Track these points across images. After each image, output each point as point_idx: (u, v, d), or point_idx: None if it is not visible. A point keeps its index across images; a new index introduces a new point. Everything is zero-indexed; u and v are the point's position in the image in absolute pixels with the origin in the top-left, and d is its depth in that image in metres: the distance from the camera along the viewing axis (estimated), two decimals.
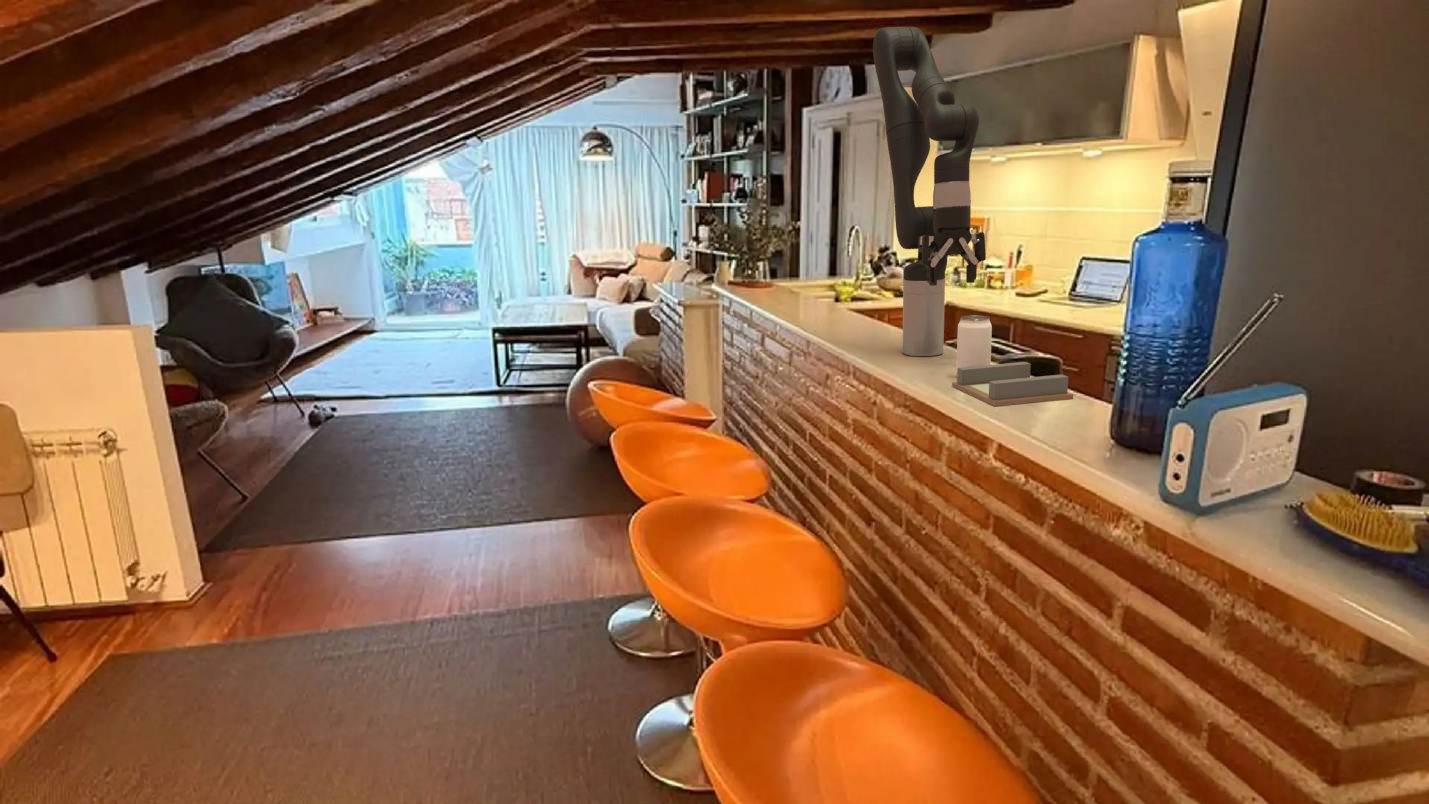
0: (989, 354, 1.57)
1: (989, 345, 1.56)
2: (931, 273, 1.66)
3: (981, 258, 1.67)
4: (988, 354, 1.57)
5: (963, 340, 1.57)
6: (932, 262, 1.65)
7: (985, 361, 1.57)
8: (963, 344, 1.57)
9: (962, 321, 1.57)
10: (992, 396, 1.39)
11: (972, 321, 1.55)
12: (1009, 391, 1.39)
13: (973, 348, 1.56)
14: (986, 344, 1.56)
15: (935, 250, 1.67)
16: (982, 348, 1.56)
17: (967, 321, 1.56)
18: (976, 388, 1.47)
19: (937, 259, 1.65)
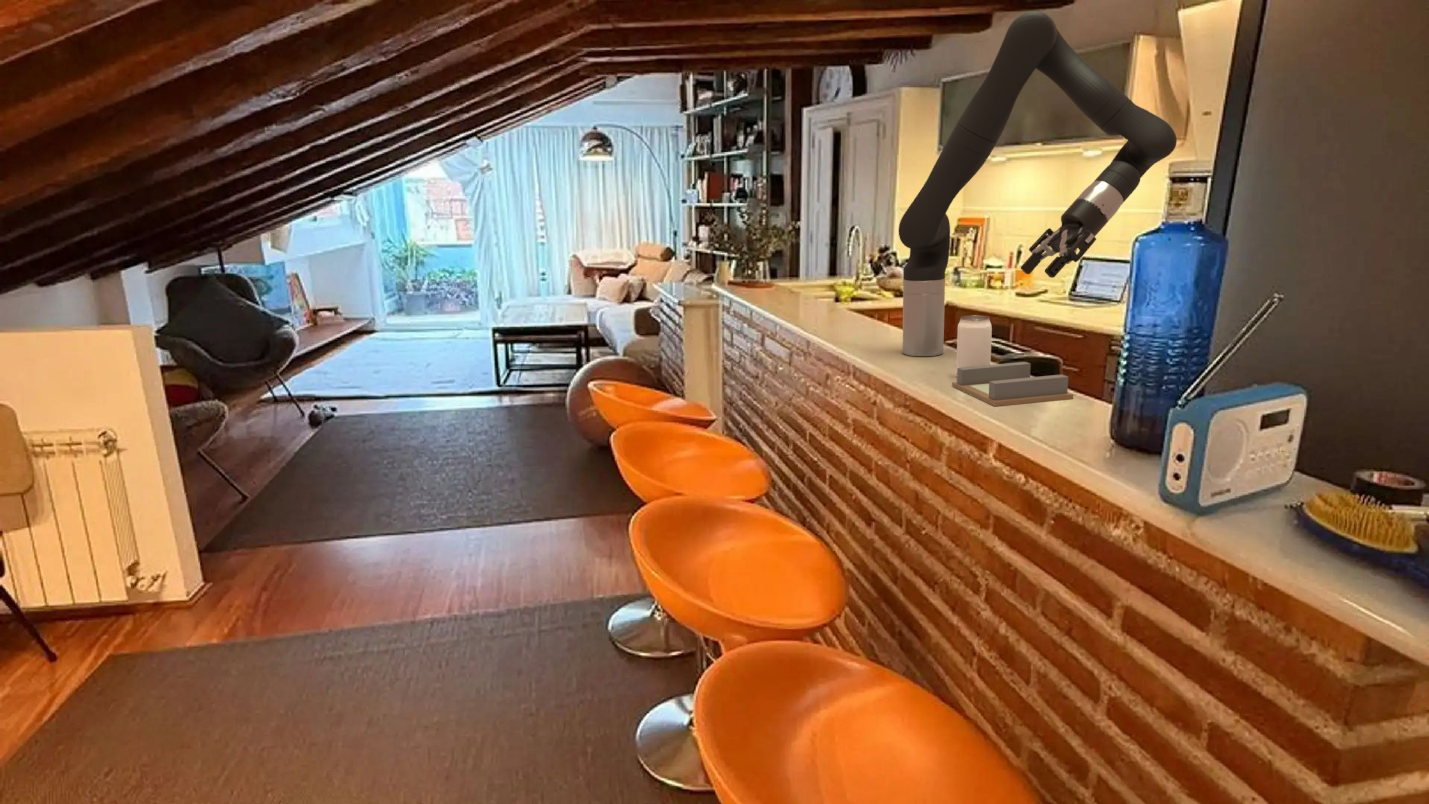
0: (989, 354, 1.57)
1: (989, 345, 1.56)
2: None
3: None
4: (988, 354, 1.57)
5: (963, 340, 1.57)
6: None
7: (985, 361, 1.57)
8: (963, 344, 1.57)
9: (962, 321, 1.57)
10: (992, 396, 1.39)
11: (972, 321, 1.55)
12: (1009, 391, 1.39)
13: (973, 348, 1.56)
14: (986, 344, 1.56)
15: None
16: (982, 348, 1.56)
17: (967, 321, 1.56)
18: (976, 388, 1.47)
19: None
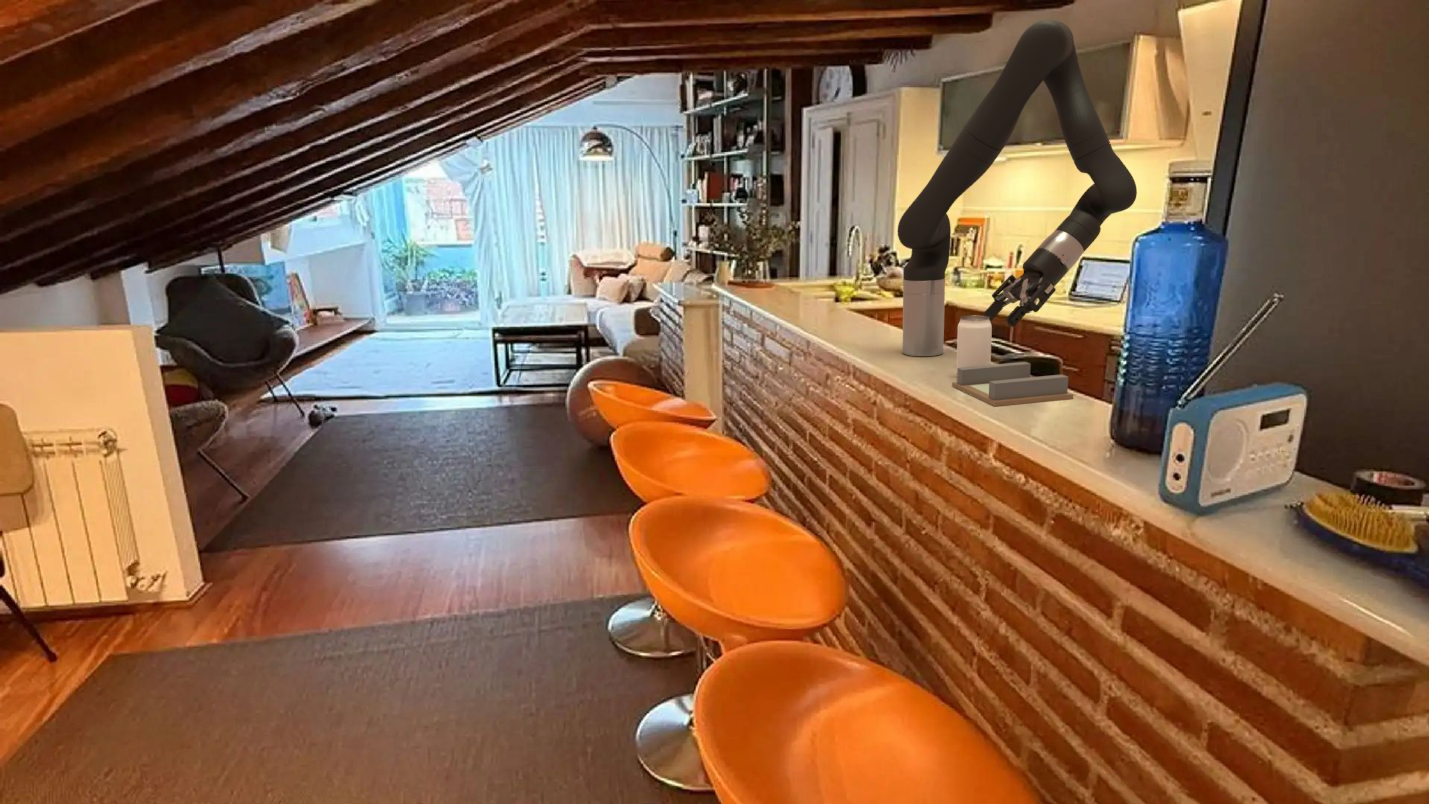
0: (989, 354, 1.57)
1: (989, 345, 1.56)
2: None
3: None
4: (988, 354, 1.57)
5: (963, 340, 1.57)
6: None
7: (985, 361, 1.57)
8: (963, 344, 1.57)
9: (962, 321, 1.57)
10: (992, 396, 1.39)
11: (972, 321, 1.55)
12: (1009, 391, 1.39)
13: (973, 347, 1.56)
14: (986, 344, 1.56)
15: None
16: (982, 348, 1.56)
17: (967, 321, 1.56)
18: (976, 388, 1.47)
19: None
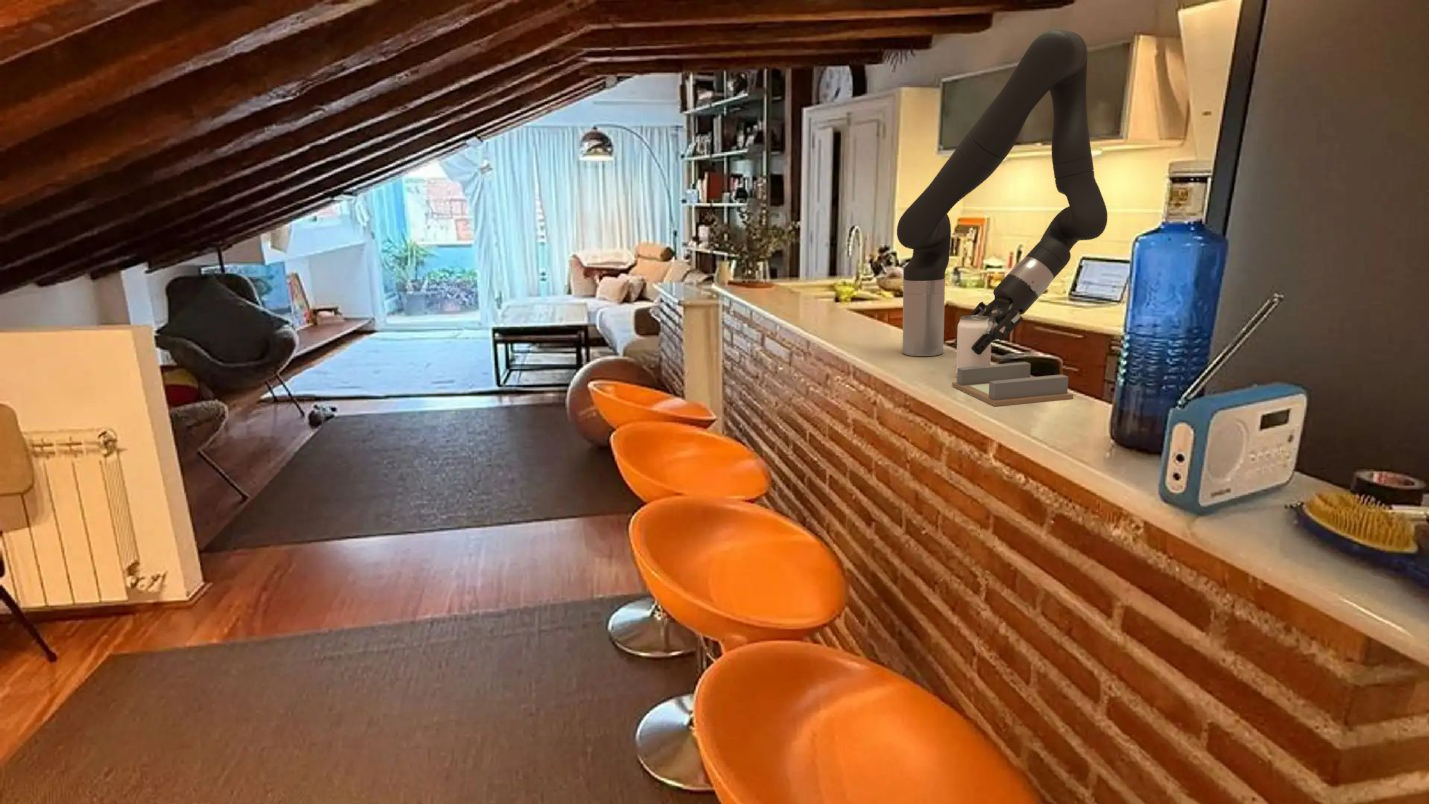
0: (989, 354, 1.57)
1: (989, 345, 1.56)
2: None
3: None
4: (988, 354, 1.57)
5: (963, 340, 1.57)
6: None
7: (985, 361, 1.57)
8: (963, 344, 1.57)
9: (962, 321, 1.57)
10: (992, 396, 1.39)
11: (972, 321, 1.55)
12: (1009, 391, 1.39)
13: None
14: None
15: None
16: None
17: (967, 321, 1.56)
18: (976, 388, 1.47)
19: None
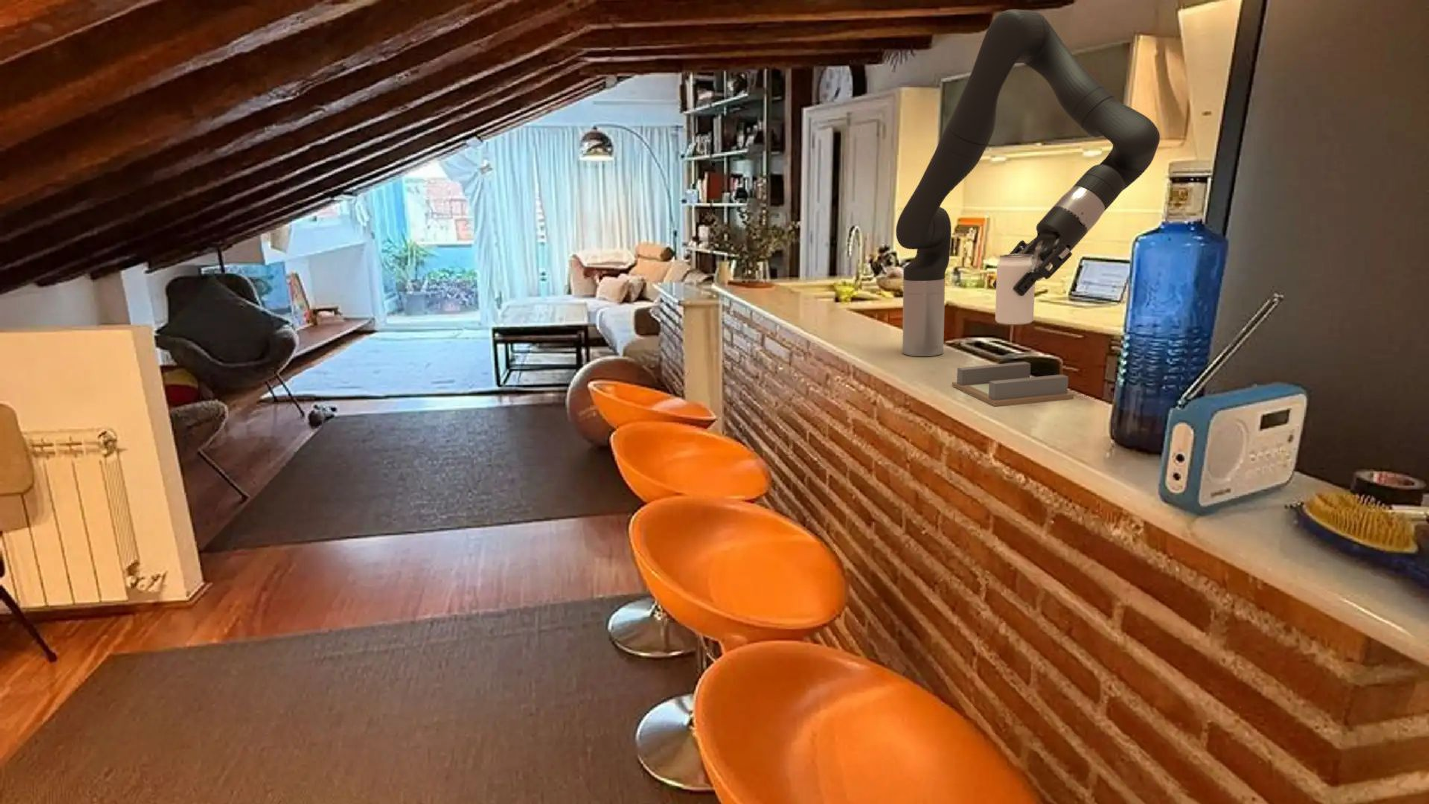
0: (1033, 296, 1.40)
1: (1033, 285, 1.40)
2: None
3: None
4: (1032, 296, 1.40)
5: (1004, 280, 1.40)
6: None
7: (1029, 303, 1.40)
8: (1004, 285, 1.40)
9: (1002, 259, 1.40)
10: (992, 396, 1.39)
11: (1014, 258, 1.39)
12: (1009, 391, 1.39)
13: None
14: None
15: None
16: None
17: (1008, 258, 1.39)
18: (976, 388, 1.47)
19: None
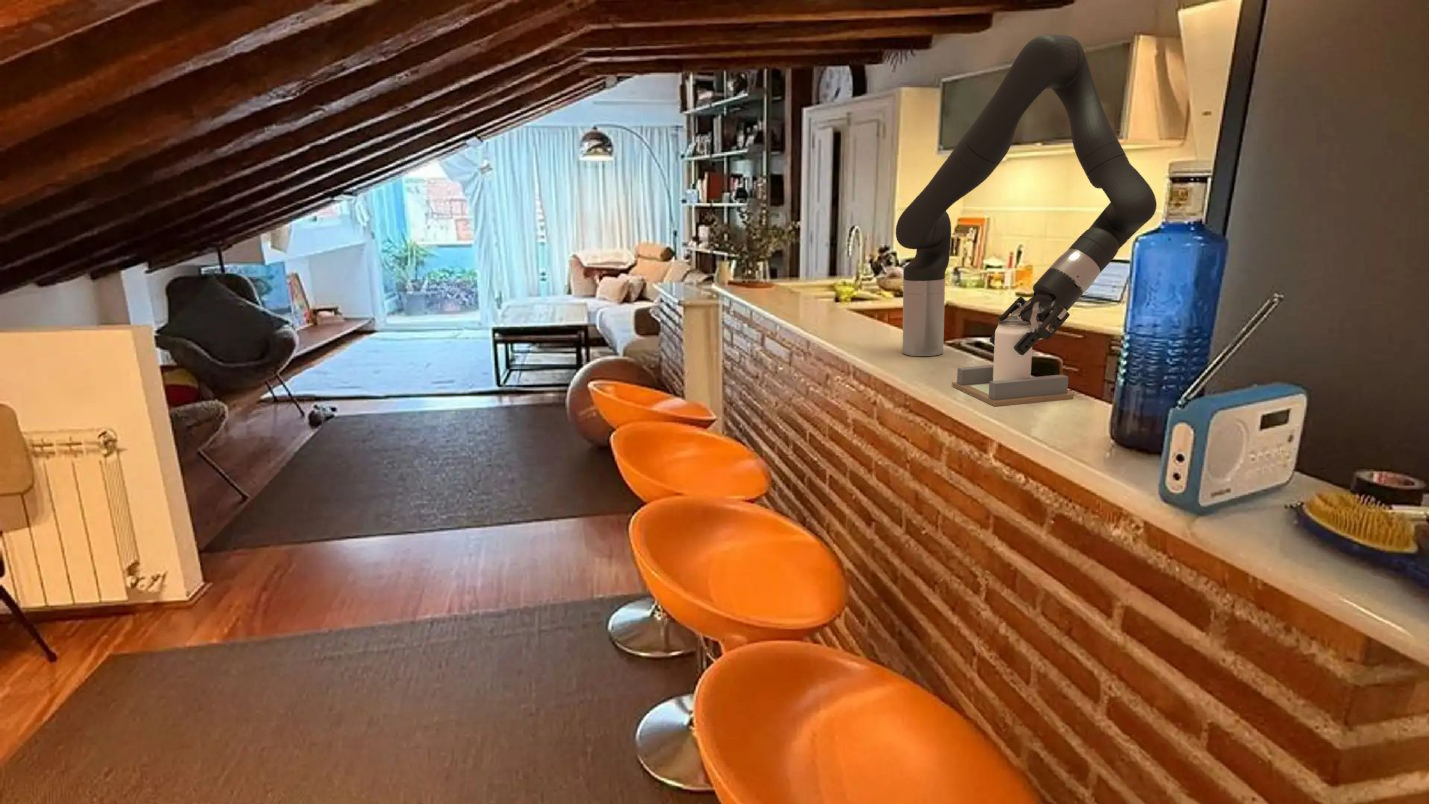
0: (1030, 363, 1.44)
1: (1030, 353, 1.43)
2: None
3: None
4: (1029, 363, 1.43)
5: (1002, 347, 1.43)
6: None
7: (1026, 370, 1.43)
8: (1002, 352, 1.43)
9: (1000, 327, 1.43)
10: (992, 396, 1.39)
11: (1012, 327, 1.41)
12: (1009, 391, 1.39)
13: (1012, 356, 1.42)
14: (1027, 352, 1.42)
15: None
16: (1022, 356, 1.42)
17: (1006, 327, 1.42)
18: (976, 388, 1.47)
19: None
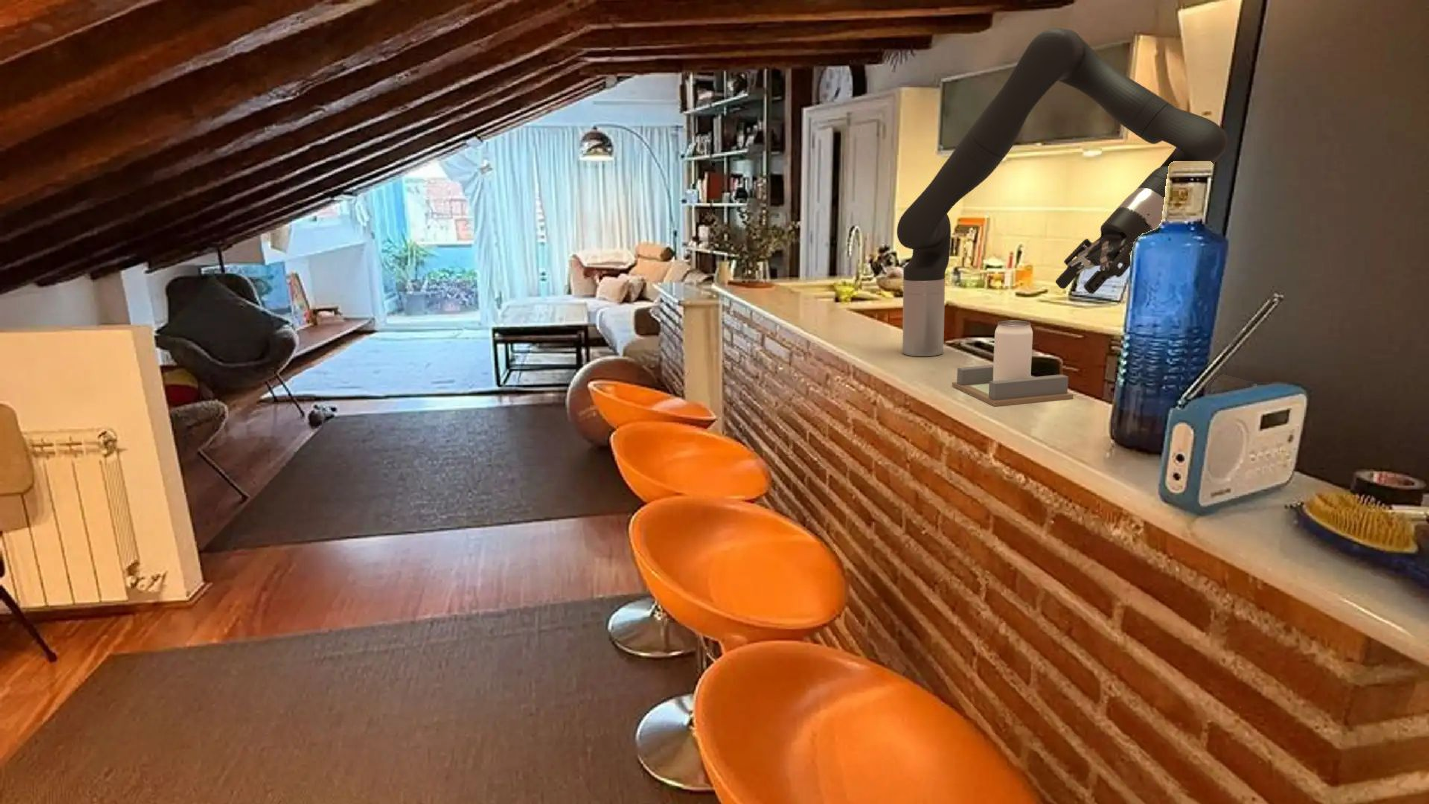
0: (1030, 363, 1.44)
1: (1030, 353, 1.43)
2: None
3: None
4: (1029, 363, 1.43)
5: (1002, 347, 1.43)
6: None
7: (1026, 370, 1.43)
8: (1002, 352, 1.43)
9: (1000, 327, 1.43)
10: (992, 396, 1.39)
11: (1012, 327, 1.42)
12: (1009, 391, 1.39)
13: (1012, 356, 1.42)
14: (1027, 352, 1.42)
15: None
16: (1022, 356, 1.42)
17: (1006, 327, 1.42)
18: (976, 388, 1.47)
19: None
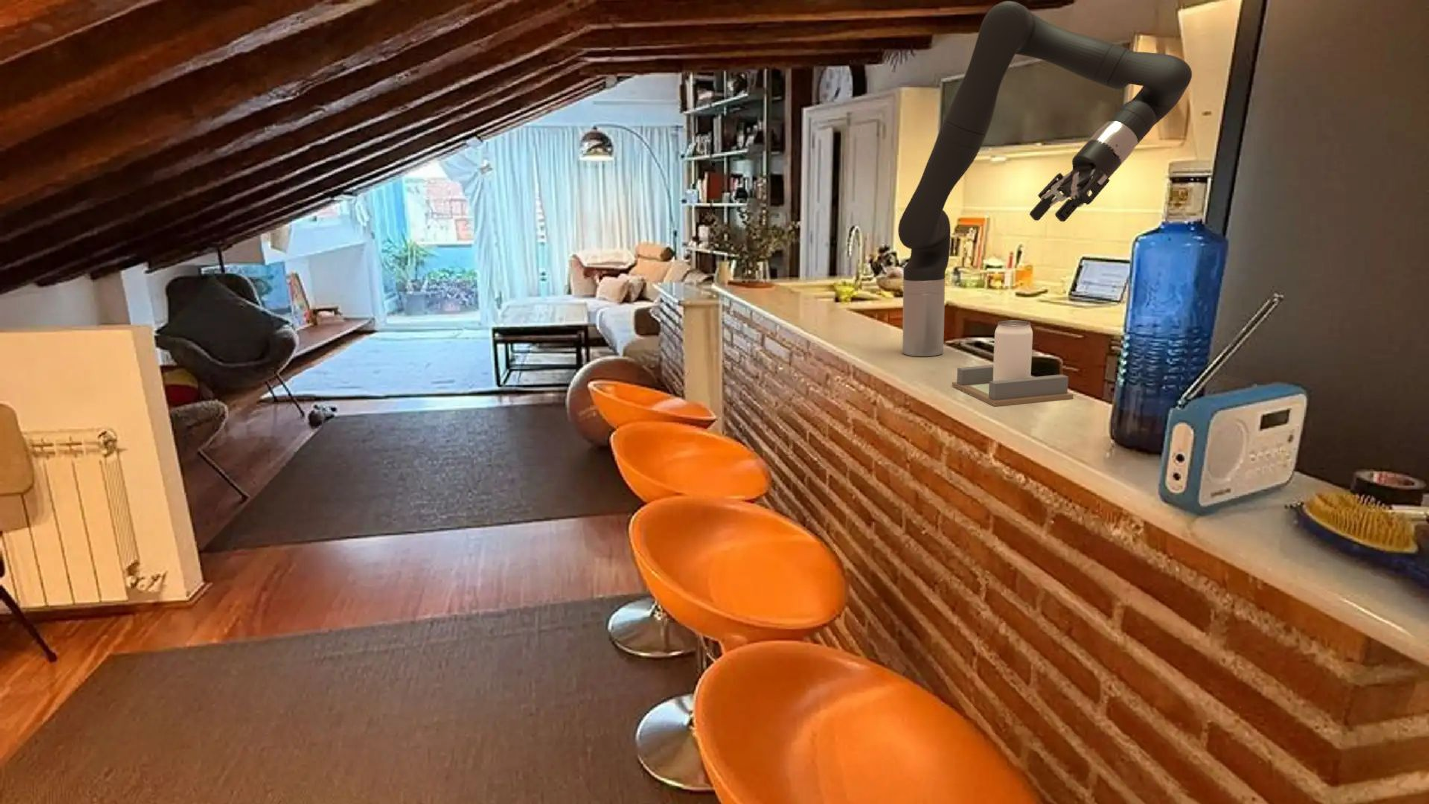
0: (1030, 363, 1.44)
1: (1030, 353, 1.43)
2: None
3: None
4: (1029, 363, 1.43)
5: (1002, 347, 1.43)
6: None
7: (1026, 370, 1.43)
8: (1002, 352, 1.43)
9: (1000, 327, 1.43)
10: (992, 396, 1.39)
11: (1012, 327, 1.42)
12: (1009, 391, 1.39)
13: (1012, 356, 1.42)
14: (1027, 352, 1.42)
15: None
16: (1022, 356, 1.42)
17: (1006, 327, 1.42)
18: (976, 388, 1.47)
19: None
